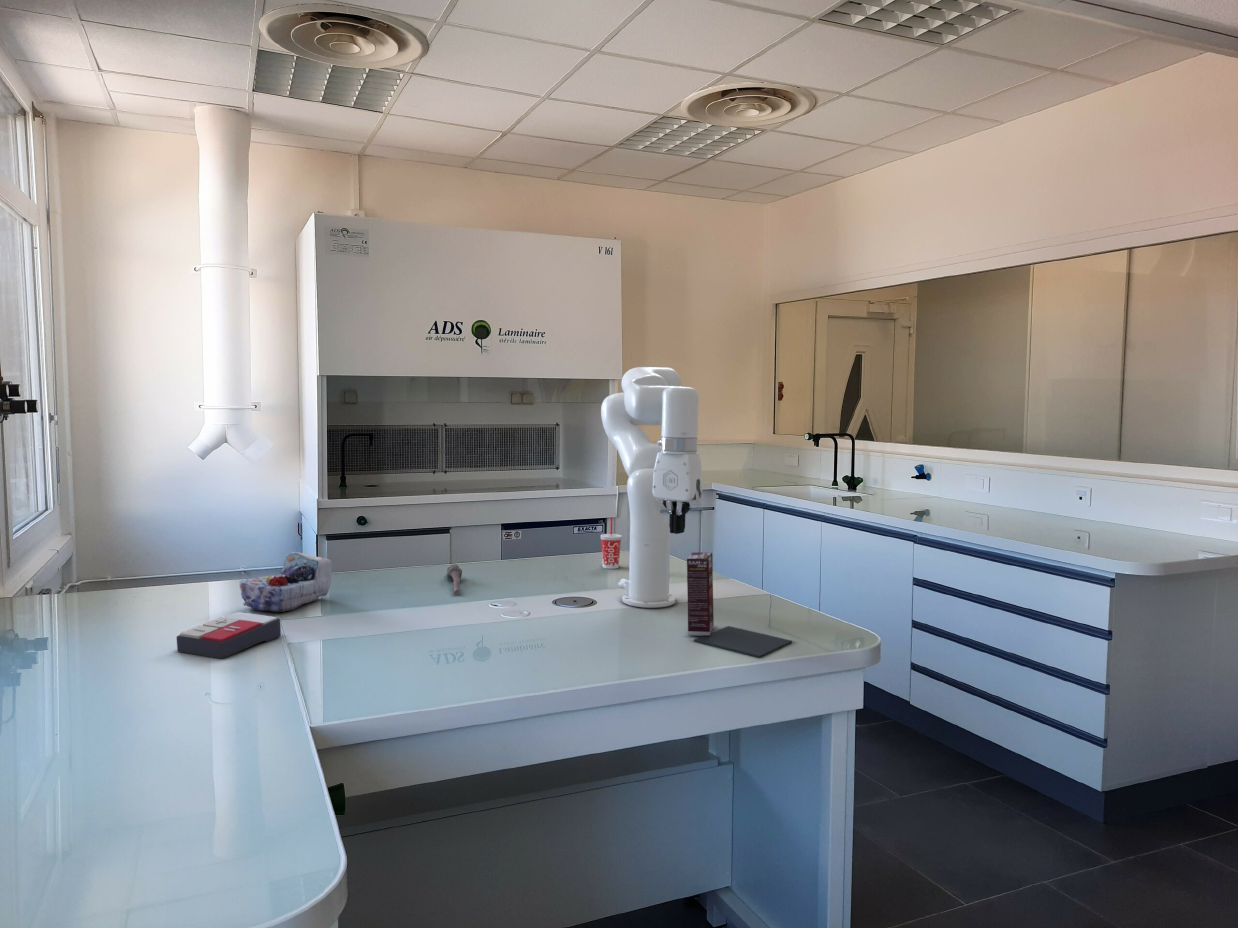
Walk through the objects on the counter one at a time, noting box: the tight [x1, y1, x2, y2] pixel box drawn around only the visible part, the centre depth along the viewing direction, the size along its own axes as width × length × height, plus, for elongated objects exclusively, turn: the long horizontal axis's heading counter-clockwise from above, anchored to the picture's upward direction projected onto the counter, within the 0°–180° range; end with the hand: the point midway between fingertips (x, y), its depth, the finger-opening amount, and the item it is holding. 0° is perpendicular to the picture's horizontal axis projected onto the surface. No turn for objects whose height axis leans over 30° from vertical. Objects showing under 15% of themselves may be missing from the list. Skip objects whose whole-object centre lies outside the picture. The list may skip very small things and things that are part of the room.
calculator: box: [176, 611, 282, 660], centre depth 160 cm, size 11×4×15 cm
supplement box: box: [686, 551, 715, 637], centre depth 174 cm, size 9×5×16 cm, turn 168°
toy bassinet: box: [239, 551, 333, 613], centre depth 188 cm, size 13×11×20 cm
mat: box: [693, 625, 793, 658], centre depth 168 cm, size 15×13×1 cm
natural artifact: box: [445, 564, 463, 596], centre depth 211 cm, size 4×23×4 cm
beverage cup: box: [600, 517, 623, 570], centre depth 234 cm, size 6×6×14 cm
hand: (677, 532), depth 176 cm, fingers closed
